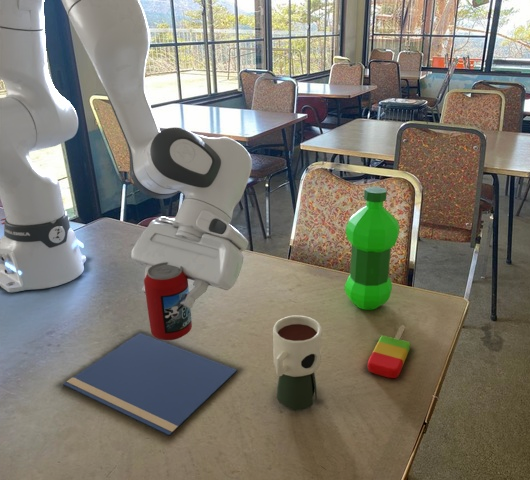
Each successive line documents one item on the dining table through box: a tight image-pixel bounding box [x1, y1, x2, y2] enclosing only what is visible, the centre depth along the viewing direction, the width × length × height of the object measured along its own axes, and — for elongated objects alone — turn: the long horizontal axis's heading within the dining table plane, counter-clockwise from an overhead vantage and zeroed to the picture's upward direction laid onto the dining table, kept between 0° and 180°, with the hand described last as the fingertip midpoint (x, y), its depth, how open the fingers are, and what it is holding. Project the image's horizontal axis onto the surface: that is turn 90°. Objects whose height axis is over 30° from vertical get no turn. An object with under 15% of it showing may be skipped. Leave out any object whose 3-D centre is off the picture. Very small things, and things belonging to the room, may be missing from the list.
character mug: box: [272, 314, 323, 411], centre depth 72 cm, size 11×7×13 cm, turn 153°
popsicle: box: [367, 324, 411, 379], centre depth 86 cm, size 6×15×2 cm, turn 157°
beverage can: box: [143, 262, 193, 341], centre depth 79 cm, size 7×7×12 cm
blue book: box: [62, 332, 238, 436], centre depth 78 cm, size 22×16×1 cm
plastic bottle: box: [344, 186, 400, 311], centre depth 96 cm, size 10×10×25 cm
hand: (165, 300), depth 79 cm, fingers closed on beverage can, 7 cm apart
